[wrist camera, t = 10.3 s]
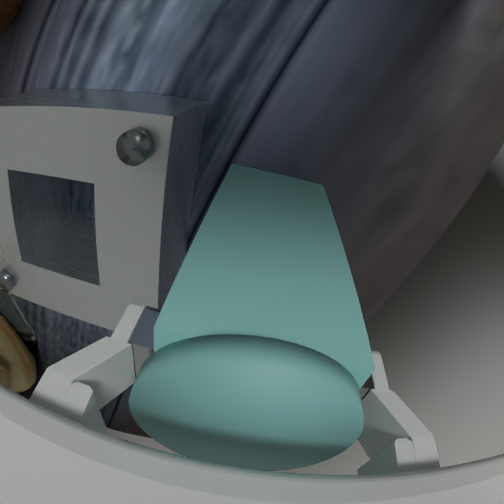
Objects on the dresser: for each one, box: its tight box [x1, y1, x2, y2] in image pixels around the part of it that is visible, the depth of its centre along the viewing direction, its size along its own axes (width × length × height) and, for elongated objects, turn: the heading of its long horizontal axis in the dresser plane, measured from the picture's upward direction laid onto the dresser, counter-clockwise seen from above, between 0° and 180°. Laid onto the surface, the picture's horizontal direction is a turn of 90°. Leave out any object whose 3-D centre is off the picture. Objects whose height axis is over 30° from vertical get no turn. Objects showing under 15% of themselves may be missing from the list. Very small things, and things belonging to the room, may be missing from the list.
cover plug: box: [129, 164, 375, 471], centre depth 13 cm, size 6×6×13 cm
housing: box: [0, 89, 209, 331], centre depth 18 cm, size 14×14×8 cm
